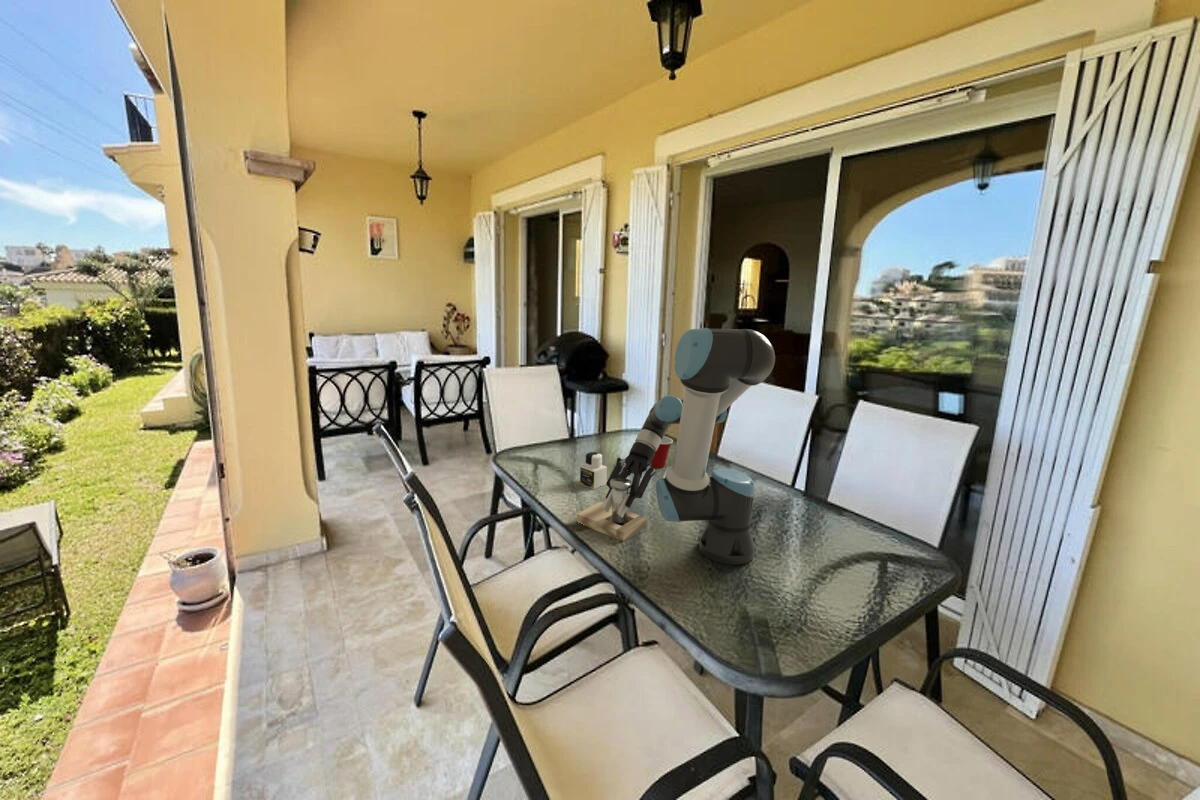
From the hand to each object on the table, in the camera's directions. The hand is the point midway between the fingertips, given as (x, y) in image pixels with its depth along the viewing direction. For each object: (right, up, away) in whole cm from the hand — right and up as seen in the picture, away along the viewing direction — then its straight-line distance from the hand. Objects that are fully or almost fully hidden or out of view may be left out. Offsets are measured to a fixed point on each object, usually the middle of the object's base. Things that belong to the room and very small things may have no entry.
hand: (612, 512), depth 149 cm
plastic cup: (+20, +6, +57) cm, 61 cm away
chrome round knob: (+2, -3, +4) cm, 5 cm away
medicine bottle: (-6, +2, +36) cm, 37 cm away
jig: (0, -5, +6) cm, 8 cm away
